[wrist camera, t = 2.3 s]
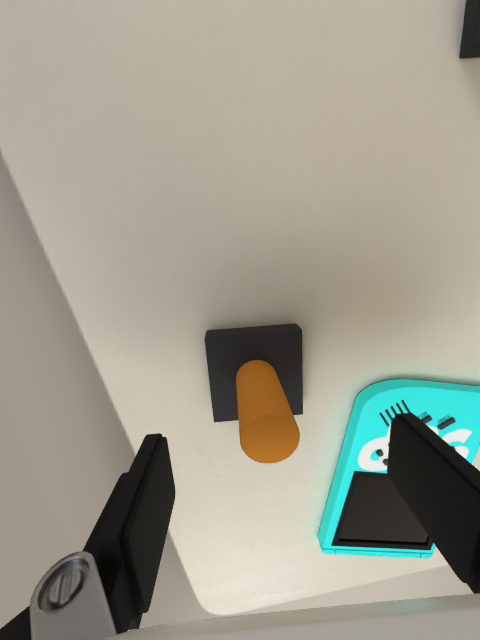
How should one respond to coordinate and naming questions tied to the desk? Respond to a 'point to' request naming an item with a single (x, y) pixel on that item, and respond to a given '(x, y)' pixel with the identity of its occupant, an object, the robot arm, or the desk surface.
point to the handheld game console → (371, 466)
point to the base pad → (471, 30)
